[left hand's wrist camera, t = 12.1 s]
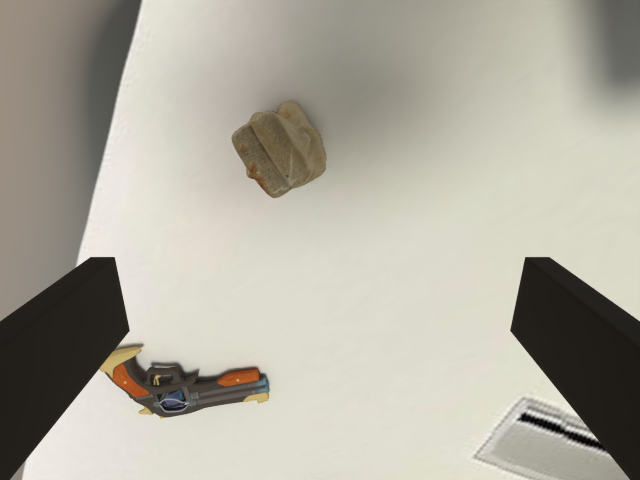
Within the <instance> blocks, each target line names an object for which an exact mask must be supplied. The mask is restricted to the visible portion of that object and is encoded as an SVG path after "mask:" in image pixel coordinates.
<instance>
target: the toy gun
mask: <svg viewBox="0 0 640 480" xmlns="http://www.w3.org/2000/svg"><path fill="white" fill-rule="evenodd" d="M140 352H141V348H139V347H131V348H125V349H119V350H116V351H113V352H112V353H111V355H110V356H109V357H108V358H107V360H106V361H105V362H104V363H103V365H102V366H101V367H100V368H99V369H100V371H102V372H105V374H106V375H107V376H108V377H109V378H110V379H111V380H112V382H114V383H115V384H116V385H117V386H118V387H120V388H121V389H122V390H124V391H125V392H126V393H127V394H128V395H129V397H130V398H132V399H133V400H134V401H135V402H137V403H139V404H141V405H143V406H144V409H143V410H141V411H139V413H140V414H149V415H152V414H153V413H156V414H157V415H159V416H160V419H162V418H165V417H173V416H178V415H184V414H188V413H192V412H195V411H198V410H200V409H203V408H207V407H212V406H218V405H224V404H230V403H237V402H246V401H253V400H257V401H258V404H259V403H262V402H265V401H268V399H269V385H268V384H267V379H266V377H264V378H263V376H261V377H260V375H259V371H258V370H257V369H252V370H245V371H238V372H231V373H228V374H226V375H224V376H223V377H221V378H219V379H218V380H215V381H210V382H195V380H196V378H197V376H198V374H199V373H196V374H194V375H192V376H189V377H186V378H183V377H182V374H181V371H180V370H179V369H178V368H176V367H170V368H154V367H150V368H149V369H148V370H147V379H146V378H144V377H143V376H142V375H141V374H140V373H139V372H138V371H137V369H136V368H135V365H134V356H135V355H137V354H138V353H140ZM169 374H170V375H172V376H173V380H171V381H166V382H160V383H159V380H158V378H159V377H161V376H162V375H169ZM152 375H156V376H155V378H154V382H153V380H152ZM155 379H156V381H157V382H155ZM167 392H171V393H169V394H168V395H167V396H165V397H164V395H165V393H167ZM162 393H164V394H163V396H161V394H162ZM163 397H164V398H163ZM186 402H189V404H187V405H184V404H185V403H186ZM164 405H166V406H167V407H166V406H164Z"/></svg>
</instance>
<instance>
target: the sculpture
mask: <svg viewBox="0 0 640 480" xmlns="http://www.w3.org/2000/svg"><path fill="white" fill-rule="evenodd" d="M232 142H233V145H234V147H235V149H236V151H237V153H238V155H239V156H240V158H241V159H242V161H243V163H244V164H245V166H246V167H247V176H248V177H249V178H251V179H255V180H256V182H257V183H258V184H259V185H260V187H261V188H262V189H263V190H264V191H265V192H266V193H267V194H268V195H269V196H271V197H272V198H277V197H280V196H282V195H284V194H285V193H287V192H288V191H289V190H291V189H293V188H297V187H300V186H303V185H305V184H307V183H309V182H311V181H312V180H314V179H315V178H317V177H319V176H320V175H321V174H322V173H323V172H324V171H325V168H326V165H325V162H326V153H325V150H324V147H323V143H322V139H321V136H320V134H319V132H318V131H317V130H316V129H315V128H314V127H313V126H312V125H311V123H310V121H309V120H308V118H307V116H306V115H305V113H304V112H303V110H302V108H301V107H300V105H299V104H298V103H297V102H295V101H287V102H284V103H282V104H281V105H280V106H279V107H278V112H277V113H274V112H273V111H267V112H264V113H260V112H258V113H255V114H253V115H252V117H251V119H250V121H249V122H248V123H247V124H246V125H244V126H242V127H241V128H239V129H238V130H237V131H236V132H235V133H234V134H233V135H232Z"/></svg>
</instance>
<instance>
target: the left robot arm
mask: <svg viewBox="0 0 640 480" xmlns="http://www.w3.org/2000/svg"><path fill="white" fill-rule="evenodd" d="M129 331H130V330H129V325H128V320H127V315H126V310H125V305H124V301H123V296H122V291H121V286H120V281H119V276H118V271H117V266H116V261H115V257H90V258H89V259H87V260H86V261H85V262H83V263H82V264H80V265H79V266H78V267H76V268H75V269H73V270H72V271H71V272H69V273H68V274H66V275H65V276H64V277H62V278H61V279H59V280H58V281H57V282H55V283H54V284H52V285H51V286H49V287H48V288H47V289H45V290H44V291H42V292H41V293H40V294H38V295H37V296H35V297H34V298H33V299H31V300H30V301H28V302H27V303H26V304H24V305H23V306H21V307H20V308H18V309H17V310H16V311H14V312H13V313H11V314H10V315H9V316H7V317H6V318H4V319H3V320H2V321H0V480H10V479H11V478H12V476H13V475H14V474H15V473H16V471H17V470H18V469H19V468H20V466H21V465H22V464H23V463H24V461H25V460H26V459H27V458H28V456H29V455H30V454H31V453H32V451H33V450H34V449H35V448H36V447H37V445H38V444H39V443H40V442H41V440H42V439H43V438H44V437H45V435H46V434H47V433H48V432H49V430H50V429H51V428H52V427H53V425H54V424H55V423H56V422H57V420H58V419H59V418H60V417H61V415H62V414H63V413H64V412H65V410H66V409H67V408H68V407H69V406H70V404H71V403H72V402H73V401H74V399H75V398H76V397H77V396H78V394H79V393H80V392H81V391H82V389H83V388H84V387H85V386H86V384H87V383H88V382H89V381H90V379H91V378H92V377H93V376H94V374H95V373H96V372H97V371H98V369H99V368H100V367H101V366H102V365H103V363H104V362H105V361H106V360H107V358H108V357H109V356H110V355H111V353H112V352H113V351H114V350H115V348H116V347H117V346H118V345H119V343H120V342H121V341H122V340H123V338H124V337H125V336H126V335H127V333H128V332H129ZM510 331H511V332H512V333H513V335H514V336H515V337H516V338H517V340H518V341H519V342H520V343H521V345H522V346H523V347H524V348H525V350H526V351H527V352H528V353H529V355H530V356H531V357H532V358H533V360H534V361H535V362H536V363H537V365H538V366H539V367H540V368H541V369H542V371H543V372H544V373H545V374H546V376H547V377H548V378H549V379H550V381H551V382H552V383H553V384H554V386H555V387H556V388H557V389H558V391H559V392H560V393H561V394H562V396H563V397H564V398H565V399H566V401H567V402H568V403H569V404H570V406H571V407H572V408H573V409H574V410H575V412H576V413H577V414H578V415H579V417H580V418H581V419H582V420H583V422H584V423H585V424H586V425H587V427H588V428H589V429H590V430H591V432H592V433H593V434H594V435H595V437H596V438H597V439H598V440H599V442H600V443H601V444H602V445H603V447H604V448H605V449H606V450H607V451H608V453H609V454H610V455H611V456H612V458H613V459H614V460H615V461H616V463H617V464H618V465H619V466H620V468H621V469H622V470H623V471H624V473H625V474H626V475H627V476H628V478H629V479H630V480H640V321H638V320H637V319H636V318H634V317H633V316H631V315H630V314H629V313H627V312H626V311H624V310H623V309H622V308H620V307H619V306H617V305H616V304H614V303H613V302H612V301H610V300H609V299H607V298H606V297H605V296H603V295H602V294H600V293H599V292H598V291H596V290H595V289H593V288H592V287H591V286H589V285H588V284H586V283H585V282H584V281H582V280H581V279H579V278H578V277H576V276H575V275H574V274H572V273H571V272H569V271H568V270H567V269H565V268H564V267H562V266H561V265H560V264H558V263H557V262H555V261H554V260H553V259H551V258H550V257H525V261H524V266H523V271H522V276H521V281H520V286H519V291H518V296H517V301H516V305H515V310H514V315H513V320H512V325H511V330H510Z"/></svg>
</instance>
